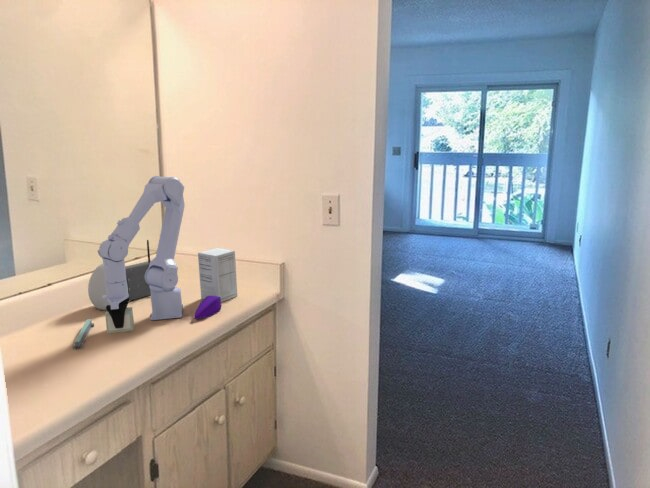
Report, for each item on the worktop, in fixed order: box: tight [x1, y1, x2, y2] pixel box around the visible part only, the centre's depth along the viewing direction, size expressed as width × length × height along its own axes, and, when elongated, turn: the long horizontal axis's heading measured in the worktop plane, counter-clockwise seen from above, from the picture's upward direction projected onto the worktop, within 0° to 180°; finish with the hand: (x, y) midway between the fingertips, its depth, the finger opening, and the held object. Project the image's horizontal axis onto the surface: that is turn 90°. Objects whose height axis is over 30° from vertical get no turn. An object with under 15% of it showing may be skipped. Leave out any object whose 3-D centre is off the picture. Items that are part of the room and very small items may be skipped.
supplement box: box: [197, 247, 238, 303], centre depth 179 cm, size 10×9×17 cm
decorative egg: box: [87, 263, 128, 311], centre depth 171 cm, size 12×12×15 cm
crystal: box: [193, 296, 222, 320], centre depth 163 cm, size 5×5×15 cm
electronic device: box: [125, 239, 152, 302], centre depth 179 cm, size 17×7×20 cm, turn 145°
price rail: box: [72, 318, 95, 350], centre depth 146 cm, size 2×18×2 cm, turn 15°
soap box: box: [104, 306, 135, 334], centre depth 151 cm, size 7×4×6 cm, turn 105°
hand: (120, 325), depth 151 cm, fingers closed on soap box, 4 cm apart
